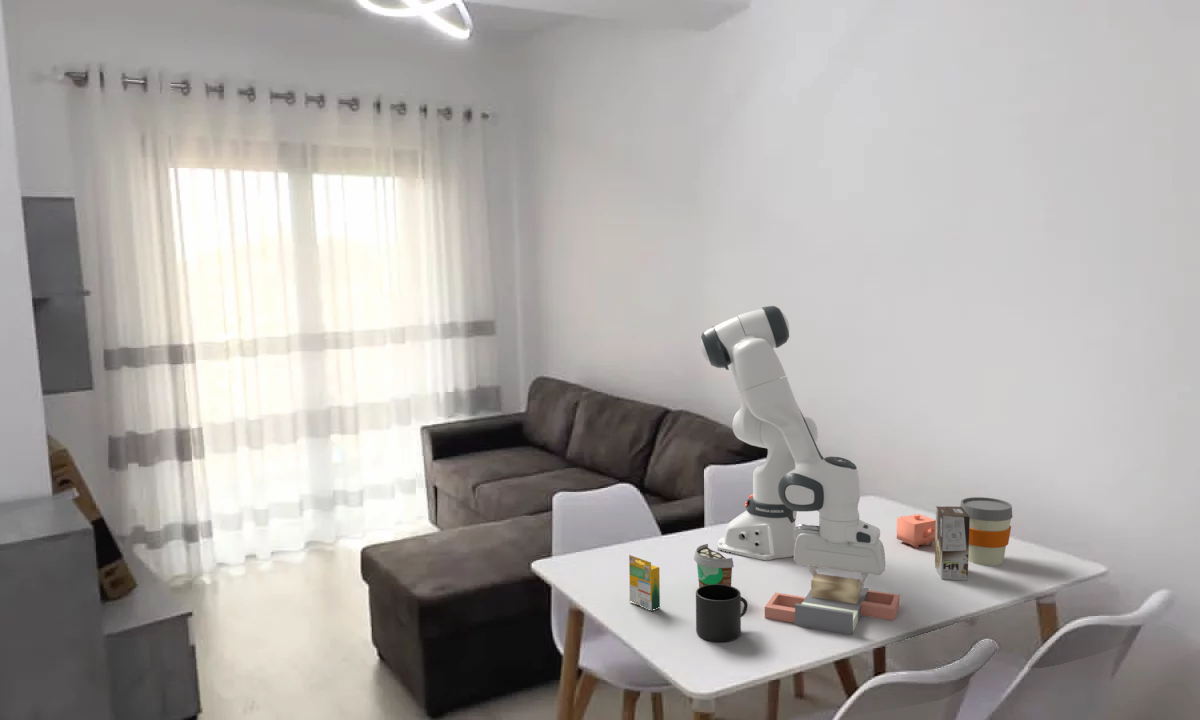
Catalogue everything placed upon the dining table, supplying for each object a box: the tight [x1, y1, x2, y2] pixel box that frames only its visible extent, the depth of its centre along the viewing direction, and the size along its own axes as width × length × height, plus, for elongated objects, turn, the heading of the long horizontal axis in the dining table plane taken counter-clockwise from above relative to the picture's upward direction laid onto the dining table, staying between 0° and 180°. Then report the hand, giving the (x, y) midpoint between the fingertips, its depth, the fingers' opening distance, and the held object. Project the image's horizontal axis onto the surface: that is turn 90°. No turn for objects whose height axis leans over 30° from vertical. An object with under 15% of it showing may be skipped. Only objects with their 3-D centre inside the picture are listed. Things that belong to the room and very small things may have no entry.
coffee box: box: [934, 505, 970, 581], centre depth 210 cm, size 9×6×16 cm
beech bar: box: [810, 572, 861, 604], centre depth 191 cm, size 10×4×4 cm, turn 64°
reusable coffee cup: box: [959, 496, 1013, 566], centre depth 219 cm, size 12×13×15 cm
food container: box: [693, 543, 734, 588], centre depth 201 cm, size 12×6×10 cm, turn 23°
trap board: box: [764, 587, 901, 636], centre depth 189 cm, size 26×21×4 cm
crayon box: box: [628, 554, 661, 610], centre depth 194 cm, size 7×3×12 cm, turn 42°
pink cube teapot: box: [896, 513, 936, 548], centre depth 232 cm, size 8×12×8 cm, turn 22°
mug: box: [695, 584, 749, 643], centre depth 180 cm, size 9×12×9 cm
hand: (838, 586), depth 194 cm, fingers open, 8 cm apart
